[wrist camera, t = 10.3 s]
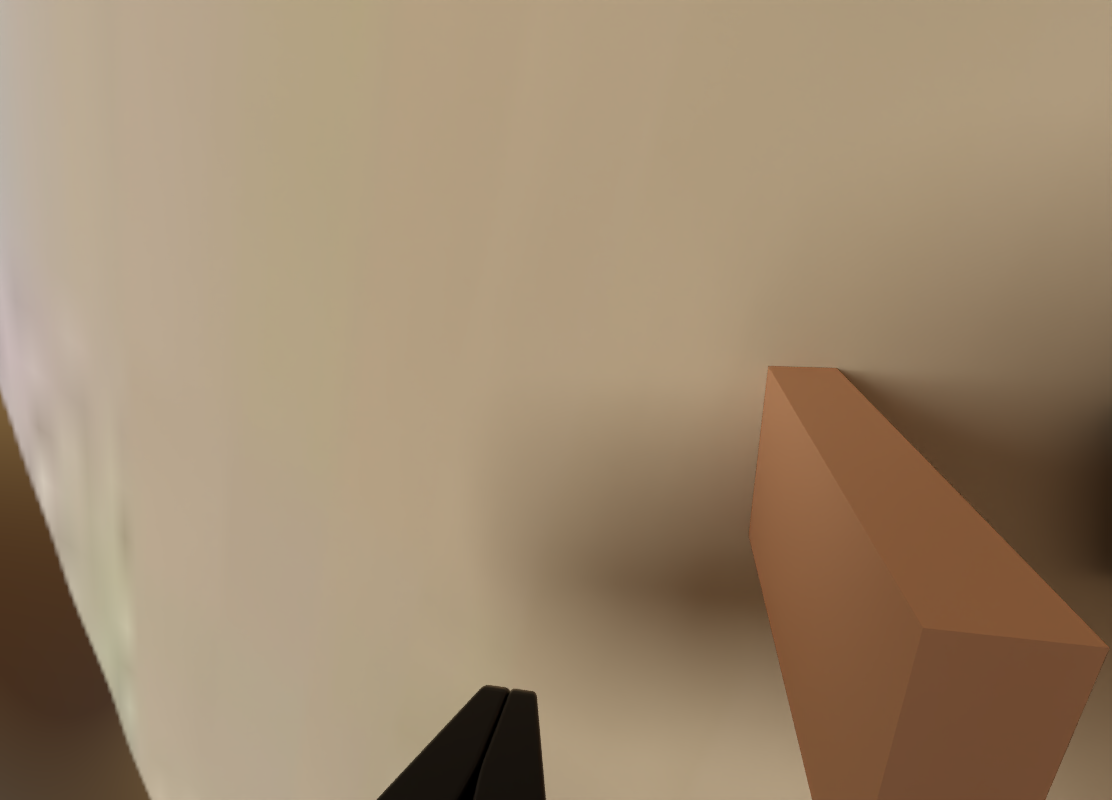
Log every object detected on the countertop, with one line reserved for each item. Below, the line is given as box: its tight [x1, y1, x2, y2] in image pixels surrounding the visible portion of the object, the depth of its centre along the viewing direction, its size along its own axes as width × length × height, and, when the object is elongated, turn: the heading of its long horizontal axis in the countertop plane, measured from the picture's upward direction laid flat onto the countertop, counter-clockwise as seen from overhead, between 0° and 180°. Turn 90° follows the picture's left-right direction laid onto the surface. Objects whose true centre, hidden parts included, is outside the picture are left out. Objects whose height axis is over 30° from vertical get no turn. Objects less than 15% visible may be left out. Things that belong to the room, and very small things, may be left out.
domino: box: [749, 366, 1109, 800], centre depth 10 cm, size 2×5×9 cm, turn 1°
